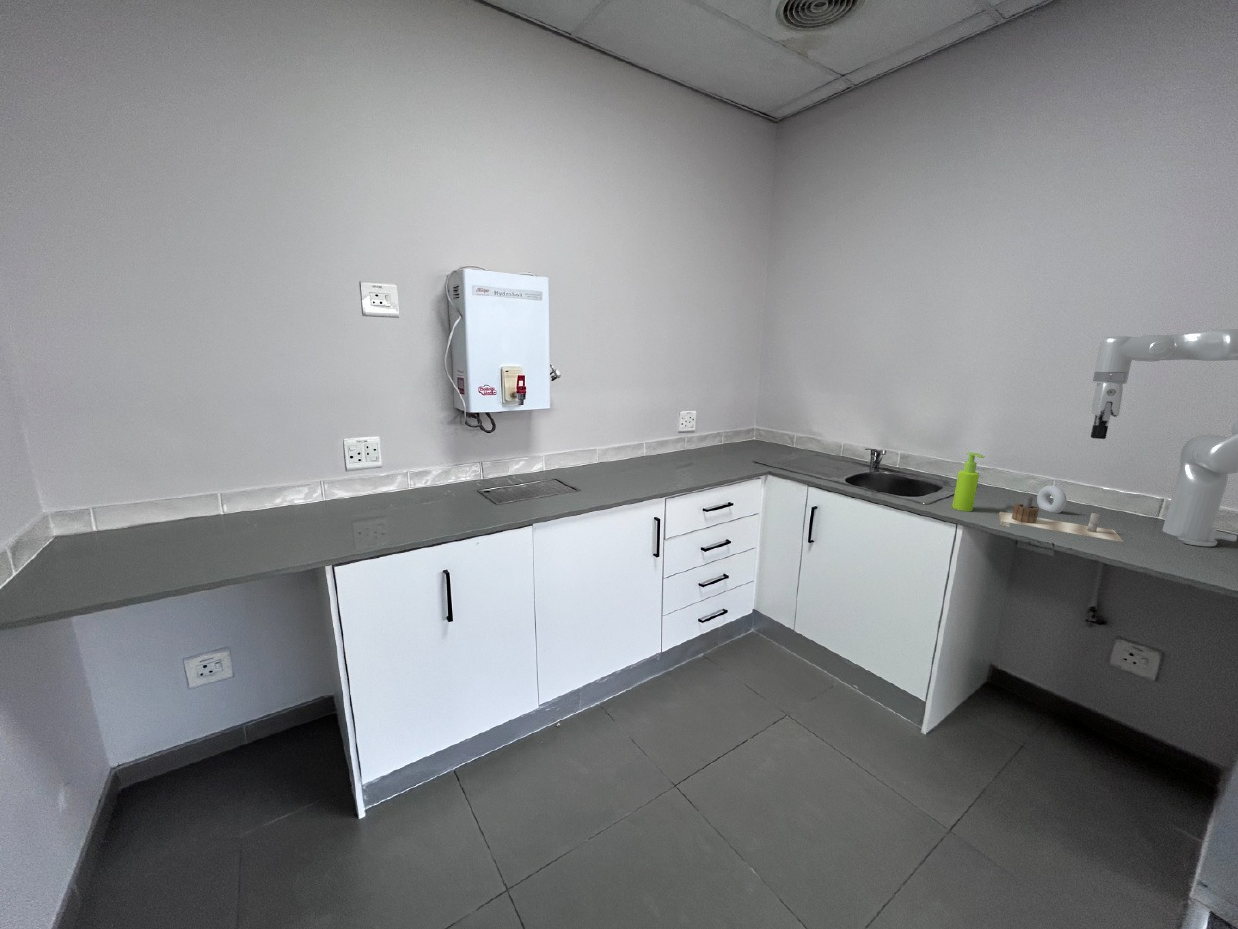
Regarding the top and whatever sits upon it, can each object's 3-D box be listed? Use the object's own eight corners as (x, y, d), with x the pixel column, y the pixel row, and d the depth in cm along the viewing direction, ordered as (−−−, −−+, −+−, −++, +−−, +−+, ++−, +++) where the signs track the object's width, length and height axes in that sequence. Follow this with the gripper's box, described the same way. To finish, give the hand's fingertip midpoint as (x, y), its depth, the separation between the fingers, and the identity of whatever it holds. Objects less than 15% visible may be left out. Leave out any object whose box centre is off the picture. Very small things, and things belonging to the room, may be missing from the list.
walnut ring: (1034, 519, 159) (1037, 506, 158) (1036, 524, 155) (1039, 510, 154) (1011, 515, 163) (1014, 502, 162) (1012, 520, 158) (1015, 507, 157)
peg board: (1113, 534, 152) (1121, 505, 149) (1122, 546, 142) (1131, 515, 140) (999, 515, 167) (1004, 488, 165) (1000, 525, 157) (1006, 496, 155)
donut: (1065, 518, 166) (1072, 490, 163) (1055, 518, 166) (1062, 489, 163) (1041, 509, 175) (1047, 482, 173) (1031, 509, 175) (1037, 481, 173)
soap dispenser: (964, 512, 170) (975, 455, 165) (947, 506, 176) (958, 451, 172) (979, 512, 171) (990, 455, 166) (961, 505, 177) (972, 450, 173)
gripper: (1134, 379, 142) (1120, 442, 146) (1121, 377, 154) (1108, 436, 158) (1098, 379, 146) (1086, 440, 150) (1088, 377, 158) (1077, 434, 162)
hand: (1097, 438), depth 154 cm, fingers closed
